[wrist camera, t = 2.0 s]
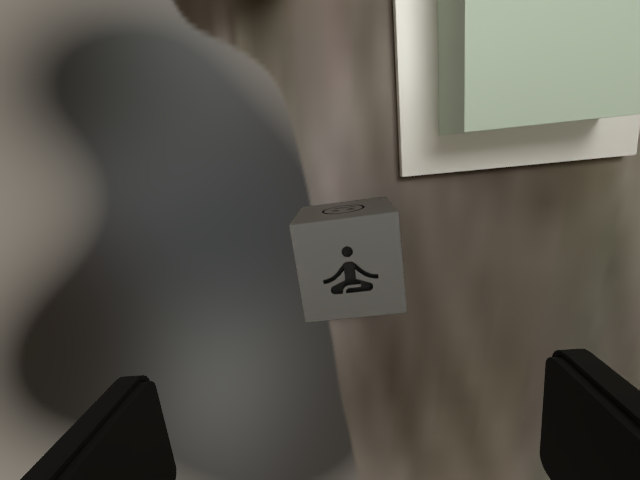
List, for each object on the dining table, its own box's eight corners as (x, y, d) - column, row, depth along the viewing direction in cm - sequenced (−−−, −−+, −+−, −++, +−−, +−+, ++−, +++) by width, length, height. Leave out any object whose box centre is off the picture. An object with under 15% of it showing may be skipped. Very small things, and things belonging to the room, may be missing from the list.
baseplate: (656, -117, 16) (672, -130, 15) (624, 154, 19) (636, 154, 18) (389, -74, 17) (392, -85, 16) (399, 175, 20) (402, 176, 19)
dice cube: (313, 283, 22) (305, 322, 17) (301, 207, 21) (289, 225, 16) (392, 275, 21) (406, 312, 17) (385, 196, 20) (398, 211, 15)
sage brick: (617, -68, 16) (707, -138, 12) (599, 118, 18) (670, 110, 14) (436, -41, 16) (465, -99, 12) (439, 135, 18) (464, 132, 14)
